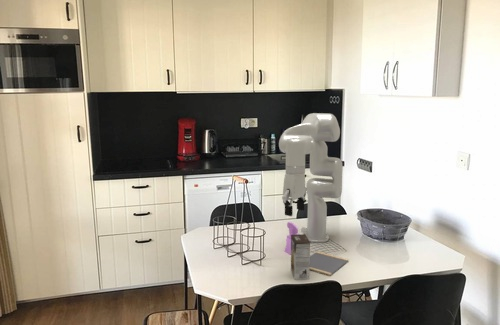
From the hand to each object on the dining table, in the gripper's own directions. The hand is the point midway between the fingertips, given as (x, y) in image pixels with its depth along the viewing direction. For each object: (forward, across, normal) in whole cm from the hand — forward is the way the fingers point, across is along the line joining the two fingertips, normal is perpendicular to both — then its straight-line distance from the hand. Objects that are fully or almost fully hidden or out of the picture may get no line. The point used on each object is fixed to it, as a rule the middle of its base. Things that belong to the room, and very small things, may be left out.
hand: (294, 212), depth 169 cm
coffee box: (+29, -5, 0) cm, 29 cm away
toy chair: (+28, -25, -14) cm, 40 cm away
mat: (+28, -20, +3) cm, 35 cm away
